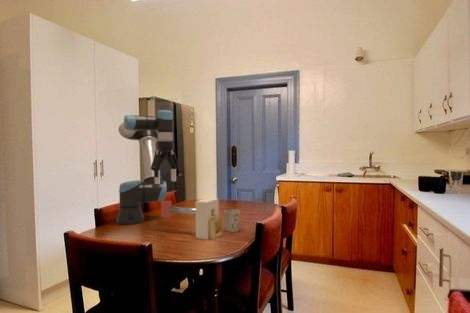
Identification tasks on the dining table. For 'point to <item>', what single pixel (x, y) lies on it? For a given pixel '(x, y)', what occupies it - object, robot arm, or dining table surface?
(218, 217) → the spacer
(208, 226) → the block
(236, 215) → the mug
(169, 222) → the dining table surface
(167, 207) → the shaft
